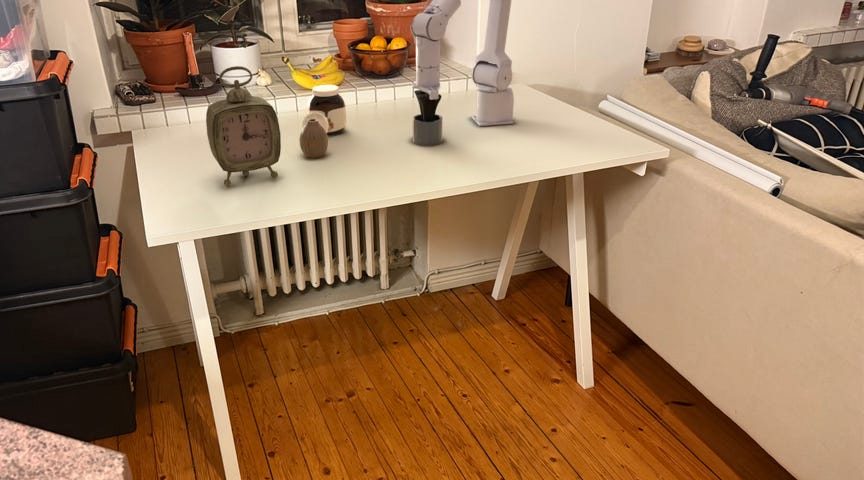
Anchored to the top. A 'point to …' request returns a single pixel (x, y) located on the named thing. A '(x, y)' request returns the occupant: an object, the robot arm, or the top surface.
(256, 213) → the top surface
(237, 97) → the tabletop clock
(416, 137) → the grey plastic cup
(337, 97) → the spread jar
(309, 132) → the vase
